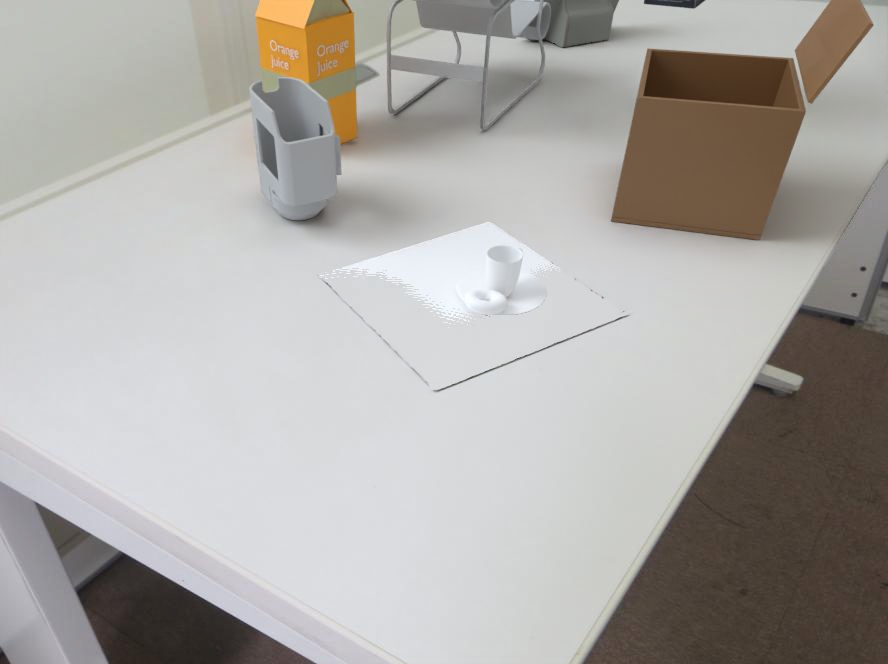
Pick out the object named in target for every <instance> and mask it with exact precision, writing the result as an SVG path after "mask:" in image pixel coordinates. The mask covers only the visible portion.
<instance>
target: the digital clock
mask: <svg viewBox="0 0 888 664" xmlns="http://www.w3.org/2000/svg"><path fill="white" fill-rule="evenodd" d="M533 1H537V2H540V0H533ZM544 2H547V3H549V4H550V6H551V17H550V23H549V27H548V30H547V33H546V35H545V37H544V38H543V39H542V40H545V39H546V40H545V41H547V40H548V42H549V41H550V42H549V43H551V42H552V43H551V44H553V43H555V44H556V46H557V47H559V48H566V47H574V46H580V45H585V43H586V44H592V43H597V42H603V40H604V41H608V40H610V37H611V31H612V25H613V20H614V13H615V11H616V9H617V7H618V4H619V2H620V0H544ZM525 39H526V40H528V41H538V40H537V39H529V38H525ZM591 42H592V43H591ZM555 44H554V45H555ZM579 44H580V45H579ZM573 45H574V46H573Z"/></svg>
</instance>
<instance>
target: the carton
mask: <svg viewBox="0 0 888 664" xmlns="http://www.w3.org/2000/svg"><path fill="white" fill-rule="evenodd" d="M794 59H795V58H794V57H783V56H782V57H781V56H770V55H769V56H768V55H753V54H752V55H751V54H739V53H738V54H736V53H735V54H734V53H720V52H708V51H707V52H706V51H692V50H677V49H661V48H646V53H645V56H644V63H643V66H642V71H641V76H640V80H639V86H638V91H637V95H636V99H635V105H634V109H633V114H632V118H631V123H630V128H629V132H628V137H627V141H626V147H625V152H624V155H623V161H622V164H621V169H620V175H619V180H618V184H617V189H616V194H615V199H614V202H613V203H614V204H613V208H612V213H611V218H610V222H613V223H615V222H616V223H622V224H629V223H630V225H636V226H637V225H638V226H645V227H653V228H662V229H669V230H675V231H676V230H678V231H685V232H693V233H699V234H700V233H701V234H709V235H717V236H723V237H732V238H739V239H745V240H746V239H747V240H754V241H755V240H756V241H760V240H761V237H762V234H763V232H764V229H765V226H766V223H767V221H768V218H769V216H770V212H771V209H772V207H773V204H774V201H775V198H776V196H777V193H778V190H779V187H780V184H781V182H782V180H783V178H784V177H783V176H784V175H785V171H786V168H787V165H788V163H789V160H790V158H791V155H792V152H793V149H794V146H795V143H796V141H797V138H798V135H799V132H800V129H801V127H802V124H803V121H804V118H805V116H806V113H807V109H806V105H805V101H804V97H803V92H802V89H801V84H800V80H799V76H798V72H797V68H796V63H795V60H794Z"/></svg>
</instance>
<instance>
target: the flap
mask: <svg viewBox="0 0 888 664" xmlns="http://www.w3.org/2000/svg"><path fill="white" fill-rule="evenodd" d="M874 26H875V25H874V23H873V21H872V19H871V17H870V15H869V13H868V12H867V9H866V8H865V6H864V4H863V2H862V0H830V1H829V2H828V4H826V7H825V8H824V9H823V10H822V12H821V13H820V14H819V16H818V18H817V19H816V20H815V21H814V23H813V24H812V26H810V28H809V30H808V31H807V32H806V34H805V35H804V37H803V38H802V39H801V41H800V42H799V43H798V44H797V46H796V48H795V49H794V53H795V57H796V60H797V65H798V69H799V73H800V78H801V81H802V85H803V90H804V93H805V97H806V101H807V103H809V104H810V105H812V104H813V103H814V102H815V101H816V99H818V97H819V95H821V93H822V92H823V91H824V89H825V88H826V87H827V85H828V84H829V83H830V81H831V80H832V78H834V76H835V75H836V74H837V73H838V71H839V70H840V69H841V68H842V66H843V65H844V64H845V62H846V61H847V60H848V58H849V57H850V56H851V55H852V54H853V52H854V51H855V50H856V49H857V47H858V46H859V45H860V44H861V42H862V41H863V39H864V38H865V37H866V36H867V34H868V33H869V32H870V31H871V29H872V28H873V27H874Z"/></svg>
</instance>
